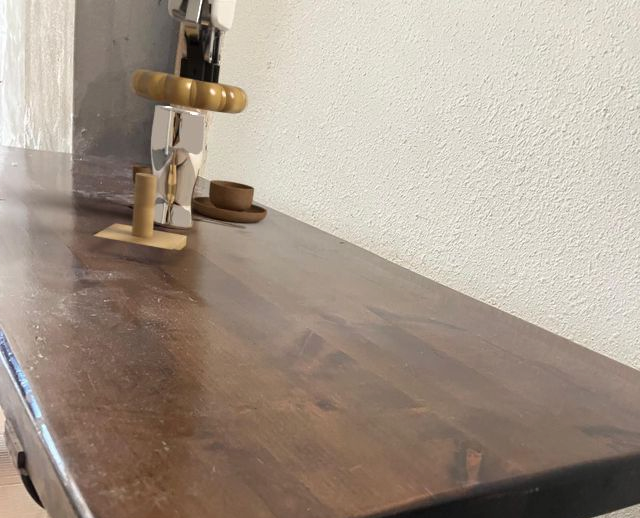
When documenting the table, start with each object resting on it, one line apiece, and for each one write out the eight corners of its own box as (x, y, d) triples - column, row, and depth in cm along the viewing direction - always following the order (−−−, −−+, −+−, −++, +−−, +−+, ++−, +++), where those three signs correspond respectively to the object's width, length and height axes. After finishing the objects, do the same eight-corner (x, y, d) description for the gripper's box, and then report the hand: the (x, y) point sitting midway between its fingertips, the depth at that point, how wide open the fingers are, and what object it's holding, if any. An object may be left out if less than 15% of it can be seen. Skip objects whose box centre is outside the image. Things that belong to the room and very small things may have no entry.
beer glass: (135, 217, 104) (143, 102, 98) (178, 218, 109) (188, 109, 103) (162, 229, 100) (172, 110, 94) (205, 230, 105) (217, 116, 99)
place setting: (260, 231, 111) (265, 191, 108) (126, 207, 110) (128, 166, 107) (270, 214, 127) (275, 179, 124) (153, 193, 126) (156, 157, 123)
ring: (114, 93, 68) (116, 65, 67) (147, 94, 78) (149, 69, 77) (235, 116, 68) (239, 88, 67) (252, 114, 78) (255, 89, 77)
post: (92, 245, 85) (95, 171, 82) (114, 232, 93) (118, 164, 90) (170, 259, 85) (177, 186, 82) (185, 245, 94) (192, 178, 90)
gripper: (195, -95, 77) (178, 97, 84) (156, -141, 62) (139, 97, 69) (267, -81, 77) (243, 110, 84) (244, -124, 62) (219, 112, 70)
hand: (197, 102), depth 77 cm, fingers closed on ring, 2 cm apart
